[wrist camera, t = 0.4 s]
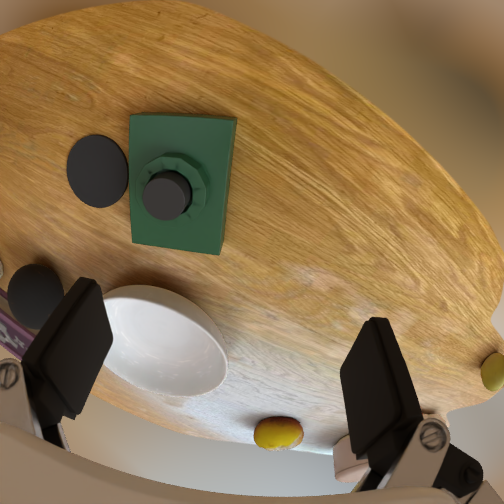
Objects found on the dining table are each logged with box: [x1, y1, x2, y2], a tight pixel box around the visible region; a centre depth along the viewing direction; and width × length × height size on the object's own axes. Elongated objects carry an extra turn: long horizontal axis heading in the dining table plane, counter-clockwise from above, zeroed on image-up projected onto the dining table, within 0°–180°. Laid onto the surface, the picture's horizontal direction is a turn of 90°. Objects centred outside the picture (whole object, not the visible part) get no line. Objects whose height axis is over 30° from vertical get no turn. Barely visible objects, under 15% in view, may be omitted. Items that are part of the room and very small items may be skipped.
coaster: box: [67, 135, 129, 208], centre depth 29 cm, size 9×9×1 cm
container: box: [333, 435, 369, 482], centre depth 57 cm, size 18×18×12 cm
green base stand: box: [129, 112, 237, 255], centre depth 27 cm, size 14×10×5 cm
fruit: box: [254, 417, 304, 451], centre depth 54 cm, size 11×10×8 cm
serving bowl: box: [102, 285, 229, 397], centre depth 38 cm, size 21×21×7 cm
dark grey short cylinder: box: [142, 172, 191, 221], centre depth 25 cm, size 4×4×2 cm
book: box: [0, 288, 40, 361], centre depth 45 cm, size 25×16×5 cm, turn 58°
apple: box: [481, 353, 504, 391], centre depth 41 cm, size 8×8×10 cm
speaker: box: [7, 264, 64, 330], centre depth 34 cm, size 10×10×10 cm
